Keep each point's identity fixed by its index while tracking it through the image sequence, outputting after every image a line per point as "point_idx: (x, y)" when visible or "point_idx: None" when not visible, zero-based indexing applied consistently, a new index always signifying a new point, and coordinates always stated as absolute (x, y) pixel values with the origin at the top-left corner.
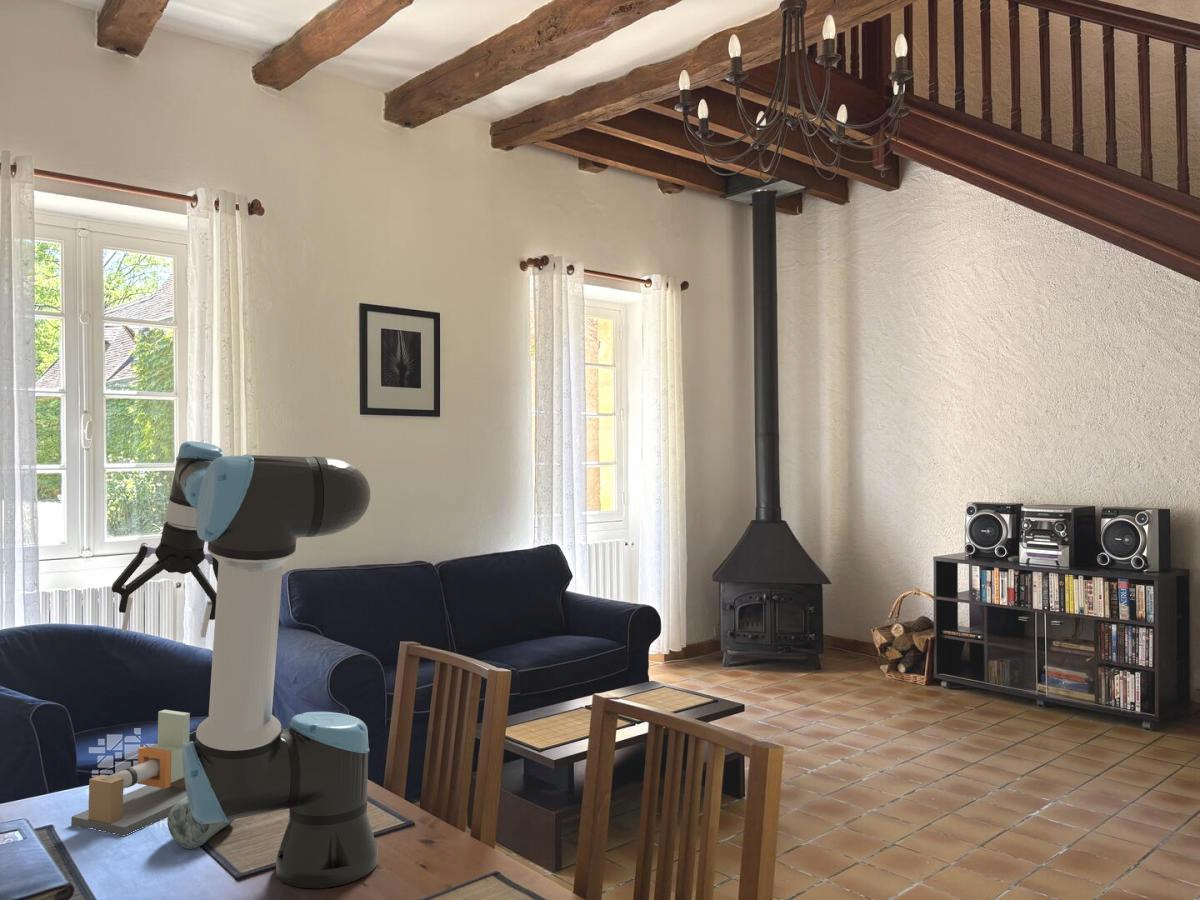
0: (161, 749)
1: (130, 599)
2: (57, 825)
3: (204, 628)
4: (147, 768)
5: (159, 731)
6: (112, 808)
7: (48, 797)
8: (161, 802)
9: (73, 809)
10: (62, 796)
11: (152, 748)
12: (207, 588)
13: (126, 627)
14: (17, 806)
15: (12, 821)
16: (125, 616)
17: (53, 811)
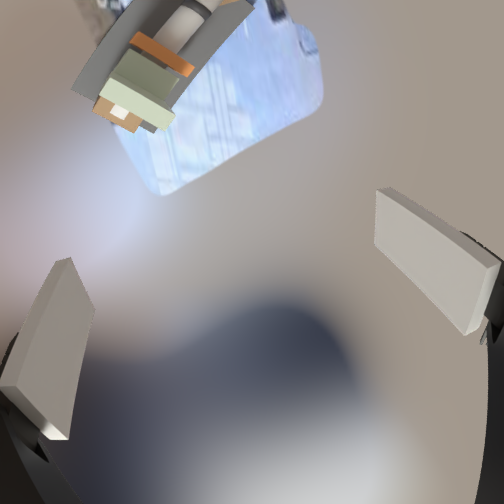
0: (150, 52)
1: (488, 261)
2: (266, 15)
3: (52, 283)
4: (167, 24)
5: (165, 104)
6: None
7: (290, 117)
8: (138, 30)
9: (256, 64)
10: (276, 116)
11: (168, 61)
12: (15, 502)
13: (388, 196)
14: (317, 96)
15: (315, 48)
16: (429, 214)
17: (278, 65)
